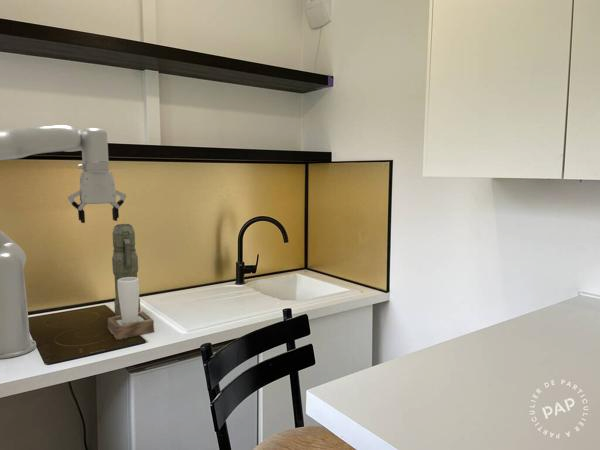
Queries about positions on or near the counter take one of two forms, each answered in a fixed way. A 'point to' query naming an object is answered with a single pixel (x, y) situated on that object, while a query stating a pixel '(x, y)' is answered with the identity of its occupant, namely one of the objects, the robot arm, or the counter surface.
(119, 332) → the wooden tray
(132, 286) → the drinking glass
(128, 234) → the stone statue
